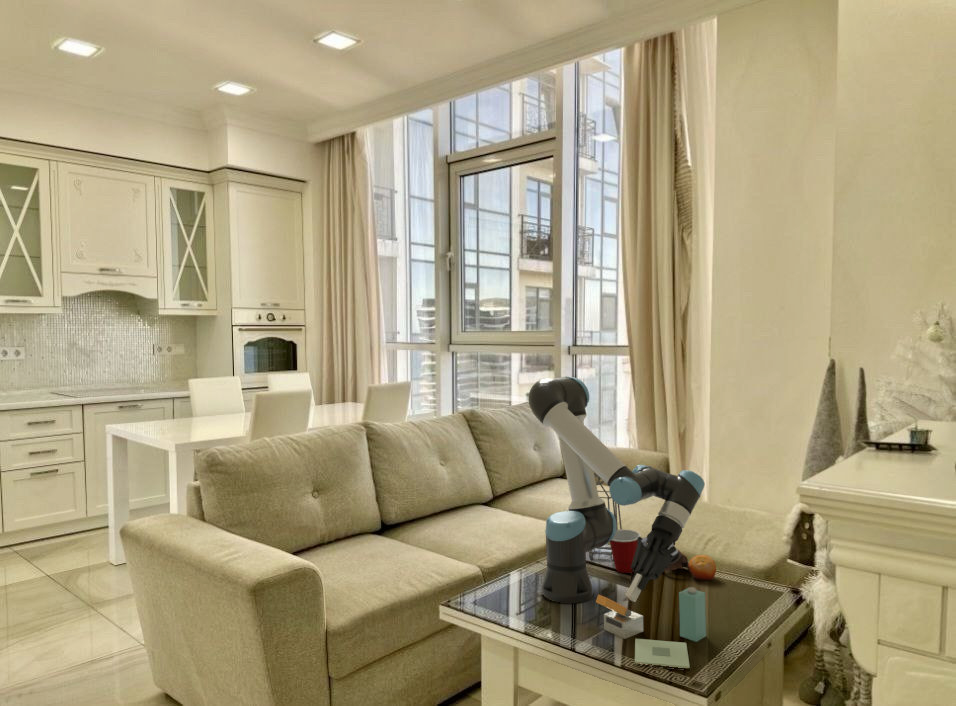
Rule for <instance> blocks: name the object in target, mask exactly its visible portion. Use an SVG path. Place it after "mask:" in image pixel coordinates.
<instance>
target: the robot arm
mask: <svg viewBox="0 0 956 706" xmlns="http://www.w3.org/2000/svg"><path fill="white" fill-rule="evenodd" d="M527 399H528V405H529V407H530V409H531V410H530V411H531V412H532V413H533V415H534V416H535V418H536V419H537V420H538V421H539V422H540V423H541V424H542V425H543V426H544V427H545V428H551V429H552V431H553V432H554V433H555V434H556V435H557V436H558V440H559V445H560V448H561V449H560V450H561V454H562V459H563V463H564V464H563V465H564V470H565V475H566V480H567V485H568V488H569V489H568V490H569V494H570V499H571V500H570V501H571V503H570V504H569V505H568V508H567V509H568V510H564V511H556V512H554V513H553V514H551V515H549V516H548V517H547V519H546V521H545V531H544V532H545V549H546V553H545V554H546V569H545V572H544V576H543V579H542V582H541V586H540V587H541V588H540V589H541V590H540V591H541V592H542V593H541V592H540V593H541V595H542V594H543V595H544V596H546V597H547V598H549V599H551V600H554V601H557V602H556V603H558V602H561V603H560V604H578V603H579V604H580V603H583V602H586V601H589V600H590V599H592V598H593V596H594V594H593V593H594V591H593V590H594V589H593V588H594V587H593V585H592V582H591V581H592V580H591V579H590V576H589V573H588V569H587V553H589V552H590V551H591V550H592V551H594V549H595V550H596V548H598V547H605V545H607V544H608V543H610V541H611V540H612V539H613V537H614V535H615V533H616V528H617V526H618V524H617V525H616V519H615V517H614V512H612V511H611V509H610V510H609V509H608V507H607V505H606V501H605V500H604V498H600V497H601V496H600V495H599V492H598V491H599V490H598V487H597V486H598V485H597V486H596V483H597V481H596V477H595V476H594V473H595V474H597V475H598V476H599V477H600V478H601V479H600V480H602V481H604V483H605V484H606V485H607V486H608V487H609V490H608V491H609V492H608V493H609V494H610V495H609V496H610V497H612V498H611V499H613V500H612V502H613V501H614V504H615V503H617V505H618V504H619V506H630V505H634V504H635V505H636V504H637V503H638V502H640V501H644V500H646V499H649V498H652V497H656V498H658V499H661V500H664V502H663V504H662V506H661V507H660V509H659V512H657V516H656V517H655V519H654V521H653V523H652V525H651V530H650V532H648V534H647V535H646V536H645V537H642V536H640V537H638V538H637V542H638V545H637V548H636V551H635V555H634V558H633V561H632V565H631V569H632V570H633V572H634V574H633V576H632V578H631V580H630V582H629V588H628V590H627V591H626V593H625V596H626V597H627V598H628V599H629V600H630V601H631V602H634V603H636V602H637V599H638V598H639V596H640V595H641V592H642V591H644V590H645V588H646V587H647V585H648V583H649V581H652V580H654V581H657V580H658V579H659V578H660V576H661V575H662V574H663V573H664V570H665V569H666V567H667V566H668V565H669V563H670V562H671V561H672V560H673V558H675V557H676V556H678V555H679V554H680V552H681V551H680V550H679V549H678V550H679V551H680V552H679V551H678V550H677V547H676V546H675V545H676V542H677V541H678V540H679V539H680V537H681V535H682V533H683V529H684V528H685V526H686V525H687V522H688V520H689V519H690V516H691V515H692V512H693V511H694V510H695V506H696V505H697V503H698V501H699V500H700V498H701V496H702V492H703V491H704V488H705V481H704V479H703V478H702V476H701V475H699V474H698V473H696V472H694V471H692V470H689V469H687V470H685V469H683V470H681V471H680V472H679V473H678V474H677V475H676V474H671V473H668V472H666V471H663V470H660V469H657V468H654V467H653V466H650V465H648V466H647V465H645V464H638V465H636V466H635V468H633V470H631V469H630V468H629V467H628V466H627V465H625V463H624V462H622V461H621V460H620V458H619V457H618V456H616V454H614V453H613V452H612V450H611V449H609V448H608V447H607V446H606V445H605V444H604V443H603V442H602V441H601V440H600V439H599V438H598V437H597V436H596V435H594V433H593V432H592V431H591V430H590V429H589V428H588V427H587V426H586V425H585V424H584V420H585V418H586V417H587V411H586V410H587V409H586V408H587V407H588V405H589V404H588V403H590V392H589V389H588V387H587V385H586V383H584V382H583V381H582V380H580V379H579V378H577V377H575V376H574V377H573V376H561V377H549V378H548V377H547V378H542V379H539V380H538V381H536V382H534V384H533V385H532V386H531V387H530V390H529V393H528V398H527Z"/></svg>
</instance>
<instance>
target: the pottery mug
mask: <svg viewBox="0 0 956 706" xmlns="http://www.w3.org/2000/svg"><path fill="white" fill-rule="evenodd" d="M676 549H677V548H676ZM677 550H678V551H679V552H680V554H679V555H678V556H676V557H675V558H673V560H672V561H671V562H670V563H669V565H668V566H667V567H666V569H665V570H664V571H666V572H672V571H675V570H677V569H682V570H683V568H685V569H687V570H688V571H689V572H690V573H692V572H691V570H690V568H689V560H688V556H687V555H685V553H684V552H681V551H680V549H677ZM664 571H663V572H664Z"/></svg>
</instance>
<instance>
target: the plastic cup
mask: <svg viewBox="0 0 956 706" xmlns="http://www.w3.org/2000/svg"><path fill="white" fill-rule="evenodd" d="M638 537H642V536H641V533H640V532H639V531H636V530H632V529H627V528H626V529H623V528H622V530H620V529H618V530H616V533H615V535H614V537H613V539H612V540H611V541H610V542H609V543H610V547H611V549H612V550H611V551H612V554H613V555H612V559H614V560H613V561H614V567H615V571H616V570H617V571H616V572H618V573H623V574H629V573H630V574H631V573H633V572H634V571H633V570H632V569H631V565H632V561H633V558H634V555H635V551H636V548H637V545H638V542H637V538H638Z"/></svg>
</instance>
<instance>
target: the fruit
mask: <svg viewBox="0 0 956 706" xmlns="http://www.w3.org/2000/svg"><path fill="white" fill-rule="evenodd" d="M688 563H689V568H690V570H691V572H690V573H691V575H692V576H693V577H694V578H695V580H698V581H711V580H713V579H714V578H715V576H716V573H717V565H716V562H715V560H714V559H713V558H711V557H710V556H709V555H706V554H697V555H694V556H693V557H692V558H690V560H689V561H688Z"/></svg>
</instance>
